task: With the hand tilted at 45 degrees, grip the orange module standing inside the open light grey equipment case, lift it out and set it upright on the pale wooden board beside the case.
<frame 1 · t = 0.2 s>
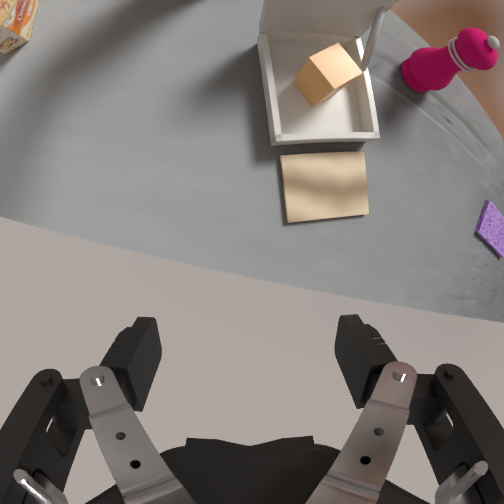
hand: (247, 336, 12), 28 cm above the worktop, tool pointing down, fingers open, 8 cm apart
module: (315, 87, 34), point 1 cm above the worktop, touching equipment case
coffeecake box: (24, 20, 26), on the worktop
pepper mill: (414, 76, 35), on the worktop
equipment case: (313, 89, 35), on the worktop
sponges: (492, 229, 43), on the worktop
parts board: (325, 185, 39), on the worktop
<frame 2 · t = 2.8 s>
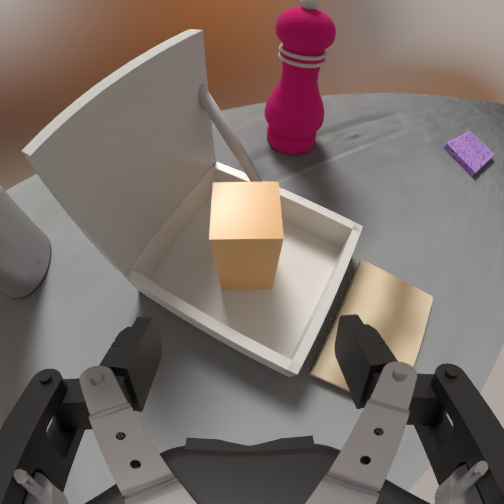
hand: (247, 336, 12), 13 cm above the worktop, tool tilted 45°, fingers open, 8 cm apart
module: (246, 265, 27), point 1 cm above the worktop, touching equipment case
pepper mill: (290, 140, 36), on the worktop
equipment case: (246, 270, 27), on the worktop
sponges: (468, 156, 38), on the worktop
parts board: (377, 335, 25), on the worktop
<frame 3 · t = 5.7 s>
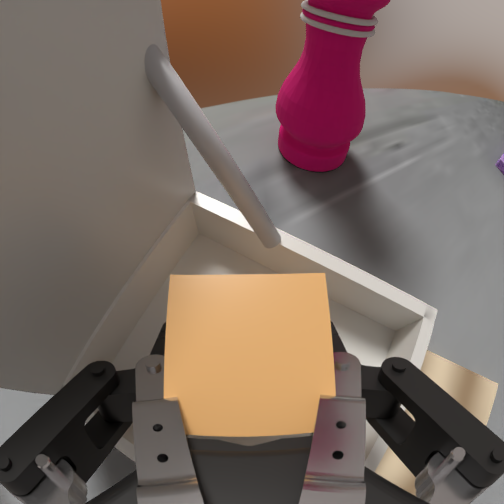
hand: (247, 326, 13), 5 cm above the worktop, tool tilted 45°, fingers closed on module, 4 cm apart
module: (248, 372, 15), point 1 cm above the worktop, touching equipment case, gripper
pepper mill: (311, 149, 25), on the worktop
equipment case: (248, 373, 16), on the worktop
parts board: (428, 446, 13), on the worktop
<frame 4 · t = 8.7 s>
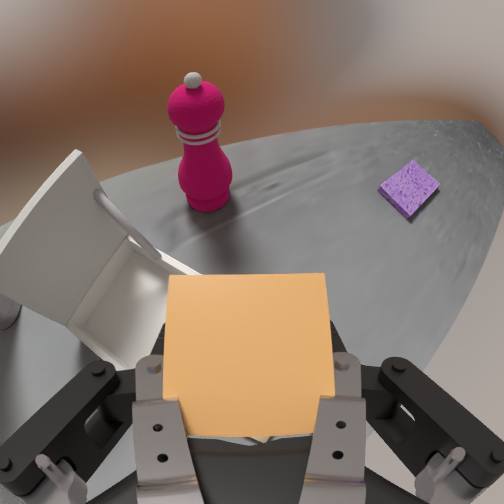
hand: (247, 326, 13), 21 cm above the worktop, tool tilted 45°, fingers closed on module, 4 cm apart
module: (248, 372, 15), point 17 cm above the worktop, touching gripper
pepper mill: (208, 195, 41), on the worktop
equipment case: (153, 321, 33), on the worktop
sponges: (408, 191, 44), on the worktop
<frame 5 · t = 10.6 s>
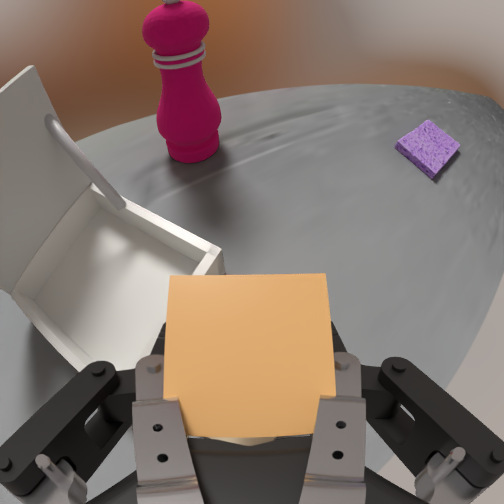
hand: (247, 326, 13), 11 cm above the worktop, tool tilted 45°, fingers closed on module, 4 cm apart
module: (248, 372, 15), point 7 cm above the worktop, touching gripper
pepper mill: (193, 146, 33), on the worktop
equipment case: (114, 291, 25), on the worktop
sponges: (427, 151, 36), on the worktop
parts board: (245, 375, 22), on the worktop
when the fingers open (6 cm above the worktop, at t = 12.0 s): module drops 1 cm, resting on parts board.
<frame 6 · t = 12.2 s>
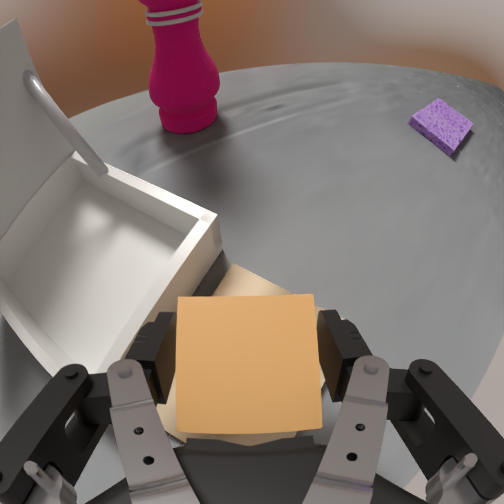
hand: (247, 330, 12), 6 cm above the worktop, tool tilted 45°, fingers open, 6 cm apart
module: (247, 374, 17), point 1 cm above the worktop, touching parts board
pepper mill: (189, 118, 29), on the worktop
equipment case: (93, 273, 20), on the worktop
sponges: (441, 129, 31), on the worktop
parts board: (247, 374, 17), on the worktop
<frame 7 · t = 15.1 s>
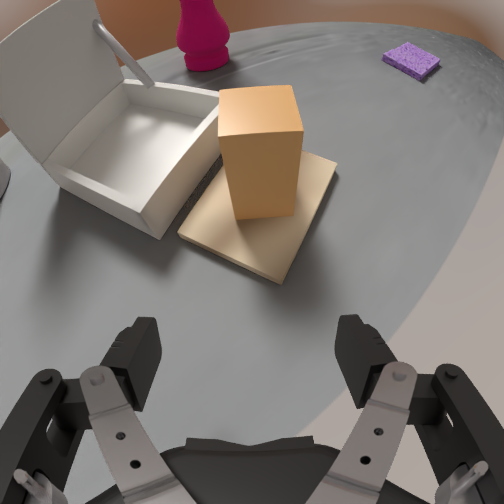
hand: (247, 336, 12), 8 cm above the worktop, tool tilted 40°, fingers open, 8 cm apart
module: (262, 193, 23), point 1 cm above the worktop, touching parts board
pepper mill: (207, 62, 35), on the worktop
equipment case: (140, 155, 27), on the worktop
sponges: (411, 64, 35), on the worktop
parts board: (262, 200, 24), on the worktop
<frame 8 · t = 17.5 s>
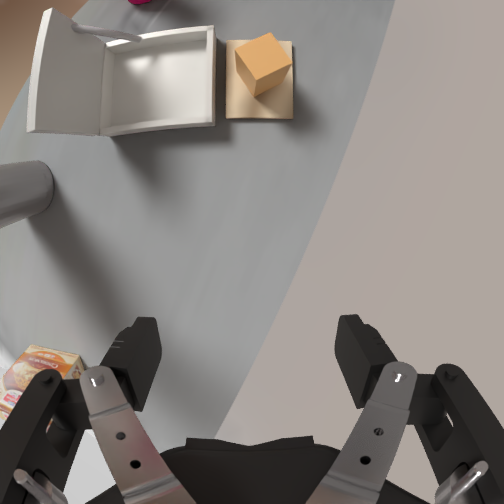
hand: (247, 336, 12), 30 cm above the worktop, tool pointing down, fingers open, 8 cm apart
module: (259, 76, 34), point 1 cm above the worktop, touching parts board
coffeecake box: (58, 360, 50), on the worktop
equipment case: (160, 84, 34), on the worktop
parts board: (259, 78, 35), on the worktop
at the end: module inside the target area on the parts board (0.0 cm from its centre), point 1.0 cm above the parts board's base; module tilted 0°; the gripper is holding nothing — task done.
